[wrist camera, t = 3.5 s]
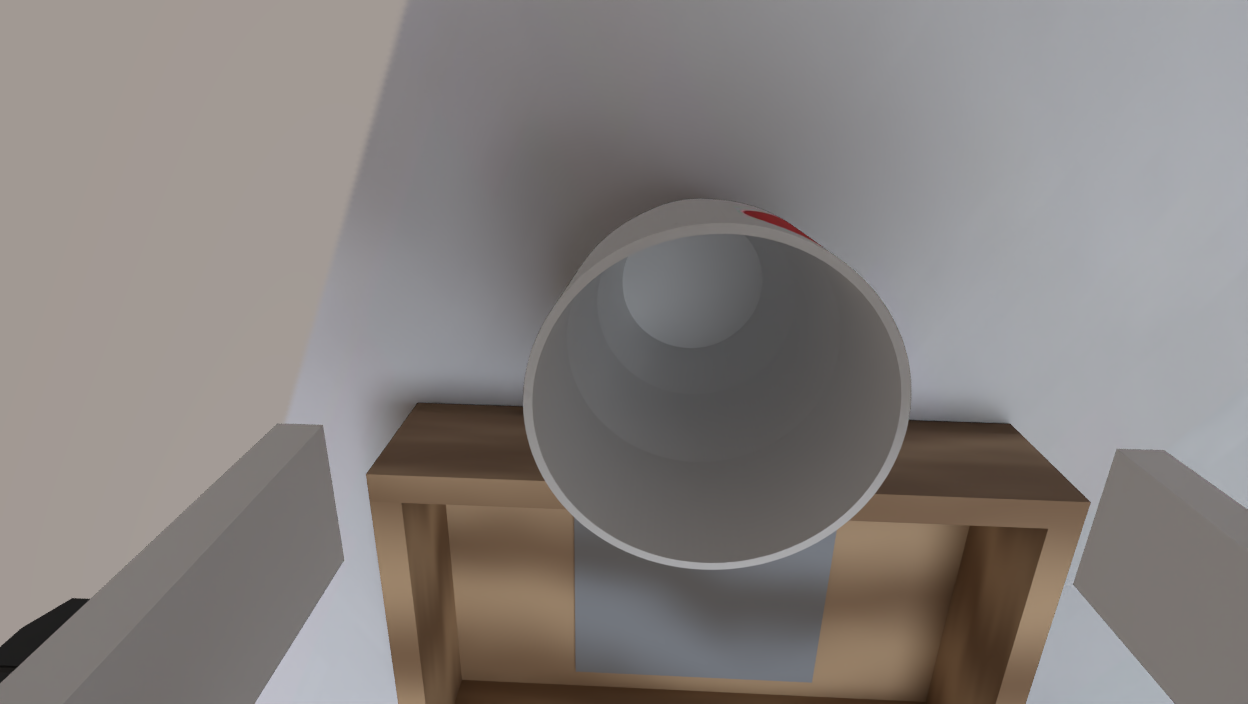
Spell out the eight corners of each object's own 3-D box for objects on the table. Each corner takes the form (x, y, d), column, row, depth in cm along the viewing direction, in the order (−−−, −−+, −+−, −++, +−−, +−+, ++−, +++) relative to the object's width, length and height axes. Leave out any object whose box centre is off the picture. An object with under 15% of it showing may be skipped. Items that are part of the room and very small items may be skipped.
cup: (843, 334, 24) (960, 495, 15) (636, 421, 26) (626, 615, 17) (755, 116, 22) (830, 147, 12) (531, 228, 23) (450, 329, 14)
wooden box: (417, 402, 26) (366, 474, 21) (1010, 423, 25) (1090, 502, 21) (446, 680, 31) (409, 786, 26) (937, 704, 30) (988, 817, 26)
